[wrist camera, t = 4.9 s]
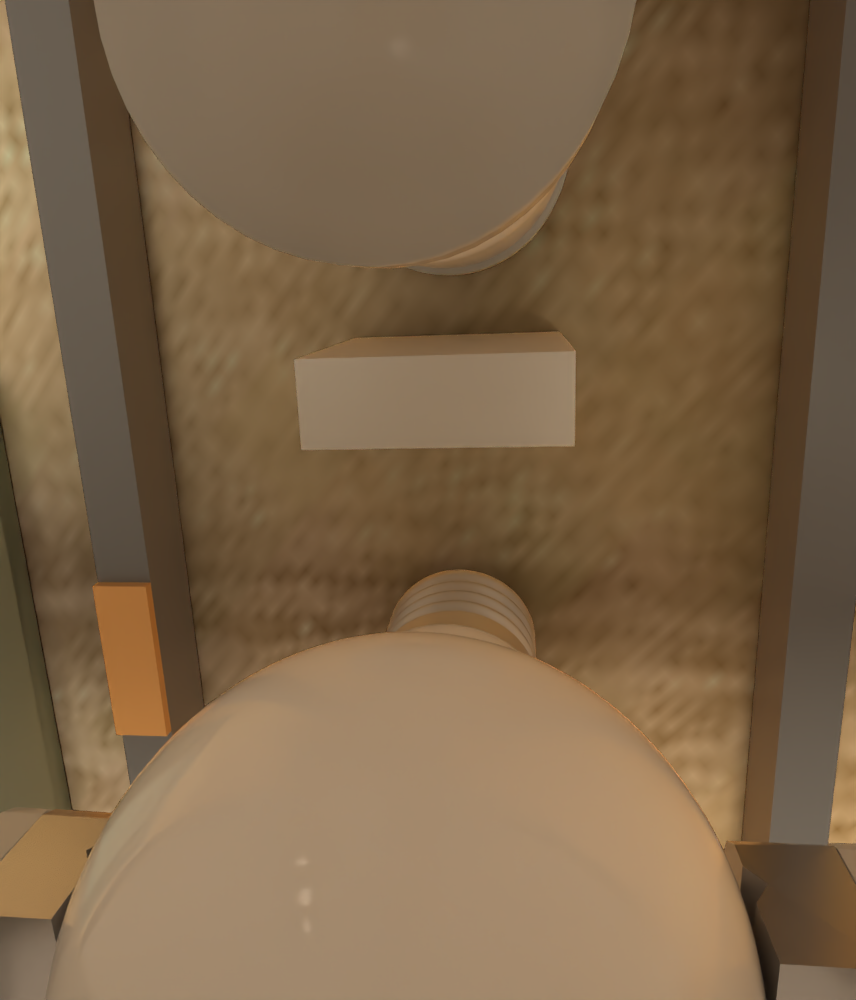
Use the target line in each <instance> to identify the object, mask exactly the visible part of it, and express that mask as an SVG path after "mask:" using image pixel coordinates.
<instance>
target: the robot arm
mask: <svg viewBox="0 0 856 1000" xmlns="http://www.w3.org/2000/svg"><path fill="white" fill-rule="evenodd" d="M111 814H112V813H107V812H92V811H78V810H63V809H54V810H50V809H39V808H23V807H14V808H12V809H9V810H6V811H3V812H1V813H0V1000H44V999H45V993H46V987H47V981H48V976H49V971H50V966H51V962H52V958H53V954H54V950H55V946H56V942H57V938H58V935H59V931H60V928H61V925H62V922H63V918H64V915H65V912H66V909H67V907H68V904H69V901H70V898H71V896H72V893H73V891H74V888H75V886H76V883H77V881H78V878H79V876H80V874H81V871H82V869H83V867H84V865H85V863H86V860H87V858H88V856H89V854H90V852H91V850H92V848H93V846H94V844H95V842H96V840H97V838H98V837H99V835H100V833H101V831H102V829H103V827H104V826H105V824H106V822H107V820H108V819H109V817H110V815H111ZM724 852H725V854H726V857H727V859H728V861H729V863H730V866H731V868H732V870H733V873H734V876H735V878H736V881H737V883H738V886H739V889H740V891H741V894H742V897H743V900H744V903H745V906H746V909H747V913H748V916H749V919H750V922H751V926H752V930H753V934H754V937H755V942H756V946H757V950H758V954H759V959H760V964H761V969H762V975H763V980H764V987H765V994H766V1000H856V844H847V843H828V844H827V845H823V844H798V843H772V842H746V841H727V842H726V845H725V848H724Z"/></svg>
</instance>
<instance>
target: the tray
mask: <svg viewBox="0 0 856 1000" xmlns="http://www.w3.org/2000/svg"><path fill="white" fill-rule="evenodd" d="M14 807H23V808H39V809H50V810H54V809H63V810H72V809H71V804H70V798H69V793H68V787H67V782H66V776H65V771H64V766H63V760H62V755H61V749H60V744H59V739H58V733H57V728H56V722H55V717H54V711H53V706H52V701H51V695H50V690H49V684H48V679H47V674H46V668H45V663H44V657H43V652H42V646H41V641H40V636H39V630H38V625H37V619H36V614H35V609H34V603H33V598H32V592H31V587H30V582H29V576H28V571H27V565H26V560H25V554H24V549H23V544H22V538H21V533H20V527H19V522H18V517H17V511H16V506H15V500H14V495H13V489H12V484H11V479H10V473H9V468H8V462H7V457H6V452H5V446H4V441H3V435H2V430H1V425H0V813H1V812H3V811H6V810H9V809H12V808H14Z"/></svg>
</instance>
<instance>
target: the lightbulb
mask: <svg viewBox="0 0 856 1000" xmlns="http://www.w3.org/2000/svg"><path fill="white" fill-rule="evenodd" d="M44 1000H766V994H765V987H764V980H763V975H762V969H761V964H760V959H759V954H758V950H757V946H756V942H755V937H754V934H753V930H752V926H751V922H750V919H749V916H748V913H747V909H746V906H745V903H744V900H743V897H742V894H741V891H740V889H739V886H738V883H737V881H736V878H735V876H734V873H733V870H732V868H731V866H730V863H729V861H728V859H727V857H726V854H725V852H724V850H723V848H722V846H721V844H720V842H719V840H718V838H717V836H716V834H715V832H714V830H713V828H712V826H711V825H710V823H709V821H708V819H707V817H706V816H705V814H704V812H703V811H702V809H701V807H700V806H699V804H698V802H697V801H696V799H695V798H694V796H693V795H692V793H691V792H690V790H689V789H688V787H687V786H686V784H685V783H684V782H683V780H682V779H681V777H680V776H679V775H678V773H677V772H676V771H675V769H674V768H673V767H672V766H671V764H670V763H669V762H668V761H667V759H666V758H665V757H664V756H663V755H662V753H661V752H660V751H659V750H658V749H657V748H656V747H655V746H654V745H653V743H652V742H651V741H650V740H649V739H648V738H647V737H646V736H645V735H644V734H643V733H642V732H641V731H640V730H639V729H638V728H637V727H636V726H635V725H634V724H633V723H632V722H631V721H630V720H629V719H628V718H626V717H625V716H624V715H623V714H622V713H621V712H620V711H619V710H617V709H616V708H615V707H614V706H612V705H611V704H610V703H609V702H608V701H606V700H605V699H604V698H602V697H601V696H599V695H598V694H597V693H595V692H594V691H593V690H591V689H590V688H588V687H587V686H585V685H584V684H582V683H581V682H579V681H578V680H576V679H574V678H573V677H571V676H569V675H568V674H566V673H564V672H562V671H560V670H559V669H557V668H555V667H553V666H551V665H549V664H547V663H545V662H543V661H541V660H539V659H537V658H536V644H535V629H534V625H533V621H532V618H531V616H530V613H529V611H528V609H527V607H526V605H525V604H524V602H523V601H522V600H521V598H520V597H519V596H518V595H517V594H516V593H515V592H514V591H513V590H512V589H511V588H510V587H508V586H507V585H506V584H504V583H503V582H501V581H500V580H498V579H496V578H494V577H492V576H489V575H487V574H484V573H481V572H477V571H471V570H447V571H442V572H438V573H435V574H432V575H430V576H428V577H425V578H423V579H422V580H420V581H418V582H417V583H416V584H414V585H413V586H412V587H411V588H409V589H408V590H407V591H406V592H405V594H404V595H403V596H402V597H401V599H400V600H399V602H398V603H397V605H396V607H395V609H394V611H393V614H392V616H391V619H390V623H389V625H388V627H387V630H386V632H384V633H374V634H367V635H360V636H355V637H349V638H344V639H340V640H336V641H332V642H329V643H325V644H322V645H318V646H315V647H312V648H309V649H306V650H303V651H301V652H298V653H296V654H293V655H291V656H288V657H286V658H284V659H281V660H279V661H277V662H275V663H273V664H271V665H269V666H267V667H265V668H263V669H261V670H259V671H257V672H255V673H254V674H252V675H250V676H248V677H247V678H245V679H243V680H242V681H240V682H238V683H237V684H235V685H234V686H232V687H231V688H229V689H228V690H227V691H225V692H224V693H222V694H221V695H219V696H218V697H217V698H215V699H214V700H213V701H211V702H210V703H209V704H207V705H206V706H205V707H204V708H202V709H201V710H200V711H199V712H198V713H196V714H195V715H194V716H193V717H192V718H191V719H190V720H188V721H187V722H186V723H185V724H184V725H183V726H182V727H181V728H180V729H179V730H178V731H177V732H176V733H175V734H174V735H173V736H172V737H171V738H170V739H169V740H168V741H167V742H166V743H165V744H164V745H163V746H162V747H161V748H160V749H159V751H158V752H157V753H156V754H155V755H154V756H153V757H152V759H151V760H150V761H149V762H148V763H147V765H146V766H145V767H144V768H143V770H142V771H141V772H140V773H139V774H138V776H137V777H136V779H135V780H134V781H133V783H132V784H131V785H130V787H129V788H128V790H127V791H126V792H125V794H124V795H123V797H122V798H121V800H120V801H119V803H118V804H117V806H116V807H115V809H114V811H113V812H112V814H111V815H110V817H109V819H108V820H107V822H106V824H105V826H104V827H103V829H102V831H101V833H100V835H99V837H98V838H97V840H96V842H95V844H94V846H93V848H92V850H91V852H90V854H89V856H88V858H87V860H86V863H85V865H84V867H83V869H82V871H81V874H80V876H79V878H78V881H77V883H76V886H75V888H74V891H73V893H72V896H71V898H70V901H69V904H68V907H67V909H66V912H65V915H64V918H63V922H62V925H61V928H60V931H59V935H58V938H57V942H56V946H55V950H54V954H53V958H52V962H51V966H50V971H49V976H48V981H47V987H46V993H45V999H44Z"/></svg>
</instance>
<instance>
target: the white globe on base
mask: <svg viewBox="0 0 856 1000" xmlns="http://www.w3.org/2000/svg"><path fill="white" fill-rule="evenodd" d="M94 5H95V11H96V16H97V21H98V27H99V32H100V37H101V40H102V44H103V47H104V50H105V54H106V57H107V60H108V63H109V67H110V70H111V73H112V76H113V78H114V81H115V83H116V85H117V88H118V90H119V92H120V95H121V97H122V99H123V101H124V104H125V106H126V108H127V110H128V112H129V114H130V116H131V117H132V119H133V121H134V123H135V124H136V126H137V128H138V130H139V131H140V133H141V135H142V137H143V138H144V140H145V142H146V143H147V144H148V146H149V147H150V148H151V150H152V151H153V153H154V154H155V155H156V157H157V158H158V159H159V161H160V162H161V163H162V165H163V166H164V167H165V169H166V170H167V171H168V172H169V173H170V174H171V175H172V177H173V178H174V179H175V180H176V181H177V182H178V183H179V184H180V185H181V186H182V187H183V188H184V189H185V190H186V191H187V193H188V194H189V195H190V196H191V197H193V198H194V199H195V200H196V201H197V202H199V203H200V204H201V205H202V206H203V207H205V208H206V209H207V210H208V211H209V212H211V213H212V214H213V215H214V216H215V217H217V218H218V219H220V220H221V221H223V222H224V223H226V224H228V225H229V226H231V227H232V228H234V229H235V230H237V231H239V232H240V233H242V234H243V235H245V236H247V237H249V238H251V239H253V240H255V241H258V242H260V243H262V244H264V245H266V246H268V247H271V248H273V249H275V250H278V251H281V252H284V253H287V254H291V255H294V256H297V257H300V258H303V259H307V260H312V261H318V262H324V263H330V264H337V265H345V266H355V267H366V268H399V267H405V268H408V269H411V270H415V271H418V272H423V273H429V274H435V275H463V274H471V273H475V272H479V271H483V270H485V269H488V268H490V267H493V266H495V265H498V264H499V263H501V262H503V261H505V260H507V259H508V258H510V257H511V256H513V255H514V254H515V253H517V252H518V251H519V250H521V249H522V248H523V247H524V246H525V245H526V244H527V243H528V242H529V241H530V240H531V239H533V237H534V236H535V235H536V234H537V233H538V231H539V230H540V229H541V228H542V226H543V225H544V223H545V222H546V220H547V218H548V217H549V215H550V214H551V212H552V210H553V208H554V206H555V203H556V201H557V199H558V197H559V195H560V193H561V190H562V187H563V184H564V181H565V178H566V175H567V170H568V167H569V166H570V164H571V163H572V161H573V159H574V158H575V156H576V154H577V153H578V151H579V150H580V148H581V146H582V145H583V143H584V141H585V140H586V138H587V136H588V134H589V132H590V130H591V128H592V126H593V124H594V122H595V119H596V117H597V115H598V113H599V111H600V109H601V107H602V105H603V102H604V100H605V98H606V96H607V94H608V92H609V89H610V87H611V85H612V83H613V81H614V79H615V76H616V74H617V71H618V68H619V65H620V62H621V59H622V56H623V53H624V50H625V47H626V44H627V40H628V37H629V34H630V29H631V24H632V19H633V14H634V9H635V5H636V0H94Z"/></svg>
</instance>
